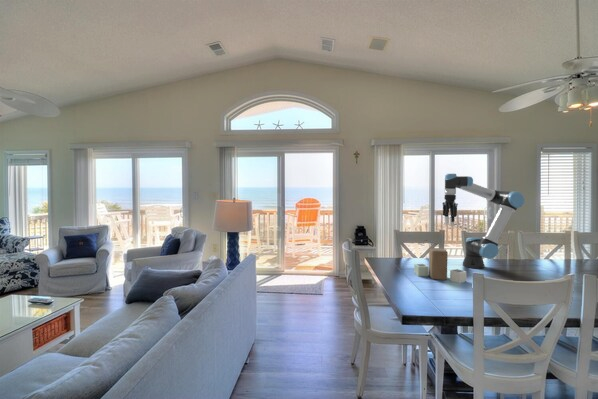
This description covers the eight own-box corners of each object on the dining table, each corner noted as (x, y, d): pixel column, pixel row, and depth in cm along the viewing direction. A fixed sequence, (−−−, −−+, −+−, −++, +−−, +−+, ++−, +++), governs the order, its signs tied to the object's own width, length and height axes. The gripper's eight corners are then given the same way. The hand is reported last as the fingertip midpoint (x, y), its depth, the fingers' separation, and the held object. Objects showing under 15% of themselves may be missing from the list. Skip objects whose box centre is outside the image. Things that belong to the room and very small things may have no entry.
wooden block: (447, 280, 210) (448, 251, 209) (431, 279, 212) (432, 250, 211) (443, 276, 220) (444, 248, 219) (428, 275, 222) (429, 247, 221)
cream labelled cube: (456, 278, 214) (456, 268, 213) (466, 281, 207) (466, 271, 207) (450, 280, 210) (450, 269, 210) (459, 283, 204) (459, 272, 204)
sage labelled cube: (423, 273, 227) (423, 263, 226) (428, 276, 220) (428, 266, 219) (414, 273, 226) (414, 263, 226) (418, 276, 219) (418, 266, 219)
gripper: (437, 194, 236) (437, 224, 237) (454, 194, 219) (453, 227, 220) (446, 194, 238) (445, 224, 239) (463, 194, 221) (462, 227, 222)
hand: (449, 225), depth 230 cm, fingers open, 4 cm apart
